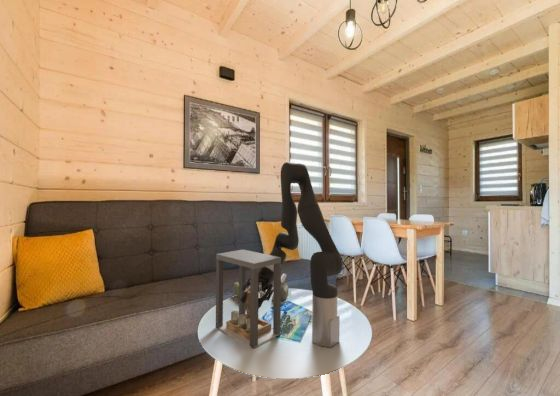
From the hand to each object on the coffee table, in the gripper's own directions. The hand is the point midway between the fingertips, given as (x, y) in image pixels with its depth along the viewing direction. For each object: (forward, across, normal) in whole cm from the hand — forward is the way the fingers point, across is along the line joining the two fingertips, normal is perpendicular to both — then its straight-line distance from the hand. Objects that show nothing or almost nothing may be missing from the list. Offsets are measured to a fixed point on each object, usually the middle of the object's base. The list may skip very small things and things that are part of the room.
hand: (248, 304), depth 110 cm
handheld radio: (-6, -24, +21) cm, 33 cm away
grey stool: (+8, 0, +7) cm, 10 cm away
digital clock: (-18, -17, +33) cm, 41 cm away
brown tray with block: (+7, 0, +7) cm, 10 cm away
